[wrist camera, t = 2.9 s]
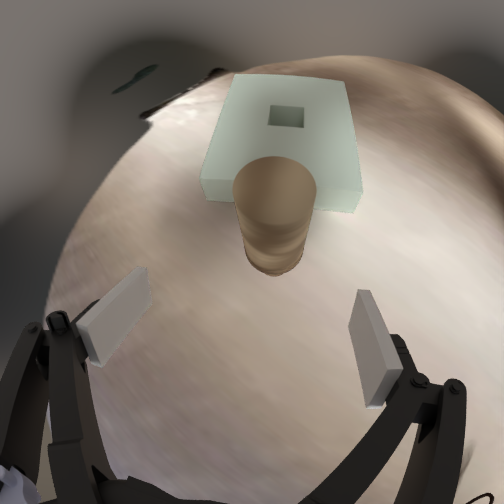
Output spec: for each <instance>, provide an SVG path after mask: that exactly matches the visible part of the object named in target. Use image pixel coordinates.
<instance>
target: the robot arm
mask: <svg viewBox="0 0 504 504" xmlns="http://www.w3.org/2000/svg"><path fill="white" fill-rule="evenodd" d="M151 305H152V298H151V292H150V285H149V278H148V270H147V268H145V267H138V266H137V267H136V268H135V269H134V270H133V271H132V272H130V273H129V274H128V275H127V276H126V277H125V278H124V279H123V280H121V281H120V282H119V283H118V284H117V285H116V286H115V287H114V288H113V289H111V290H110V291H109V292H108V293H107V294H106V295H105V296H104V297H103V298H102V299H101V300H100V299H98V300H96V301H94V302H92V303H91V304H90V305H89V306H88V307H87V308H86V309H84V310H83V311H82V313H80V314H79V315H78V316H77V317H76V318H75V319H74V320H73V321H72V322H71V323H70V321H69V319H68V316H67V313H66V312H65V311H55V312H52V313H51V314H49V315H48V316H47V317H46V322H47V325H48V327H49V330H43V327H42V325H41V323H39V322H32V323H29V324H28V325H27V326H25V328H24V329H23V331H22V333H21V335H20V338H19V339H18V341H17V344H16V346H15V348H14V350H13V352H12V354H11V357H10V359H9V361H8V364H7V366H6V369H5V371H4V374H3V376H2V378H1V381H0V504H37V503H39V502H40V501H41V496H40V494H39V493H38V492H37V489H36V483H37V478H38V472H39V464H40V453H41V444H42V436H43V429H44V423H45V417H46V412H47V407H48V402H49V406H50V420H51V430H52V438H53V442H52V444H48V457H49V462H50V468H51V474H52V479H53V483H54V487H55V491H56V495H57V498H56V499H53V500H50V501H46V502H43V503H39V504H227V503H221V502H216V501H211V500H183V499H178V498H175V497H174V496H172V495H170V494H168V493H166V492H165V491H163V490H161V489H159V488H158V487H156V486H154V485H152V484H150V483H147V482H144V481H141V480H139V479H136V478H134V477H131V476H128V478H127V480H121V479H117V478H116V476H115V475H114V473H113V471H112V470H111V468H110V465H109V462H108V459H107V456H106V453H105V450H104V446H103V443H102V439H101V435H100V431H99V427H98V423H97V419H96V415H95V410H94V405H93V400H92V395H91V389H90V383H89V377H88V370H87V364H86V362H85V359H86V358H87V357H88V356H89V359H90V361H91V363H92V364H93V365H96V366H99V367H101V368H103V367H104V365H105V364H106V363H107V361H108V360H109V359H110V357H111V356H112V355H113V353H114V352H115V351H116V349H117V348H118V347H119V345H120V344H121V343H122V342H123V340H124V339H125V338H126V336H127V335H128V334H129V333H130V331H131V330H132V329H133V327H134V326H135V325H136V324H137V322H138V321H139V320H140V319H141V317H142V316H143V315H144V314H145V312H146V311H147V310H148V309H149V307H150V306H151ZM348 328H349V332H350V336H351V340H352V344H353V348H354V352H355V357H356V361H357V366H358V370H359V375H360V380H361V384H362V389H363V394H364V400H365V405H366V409H375V408H381V407H382V405H383V404H384V402H385V401H386V405H387V406H386V407H385V409H384V410H383V412H382V413H381V415H380V416H379V417H378V419H377V420H376V421H375V423H374V424H373V425H372V427H371V428H370V429H369V430H368V432H367V433H366V434H365V436H364V437H363V438H362V439H361V440H360V442H359V443H358V444H357V445H356V446H355V448H354V449H353V450H352V451H351V452H350V453H349V455H348V456H347V457H346V458H345V459H344V460H343V461H342V462H341V463H340V465H339V466H338V467H337V468H336V469H335V470H334V471H333V472H332V473H331V474H330V475H329V476H328V477H327V478H326V479H325V480H324V481H323V482H322V483H321V484H320V485H319V486H318V487H317V488H316V489H315V490H313V491H312V492H311V493H310V494H309V495H308V496H306V497H305V498H304V499H303V500H302V501H300V502H299V503H298V504H354V503H355V502H356V501H357V500H358V499H359V498H360V496H361V495H362V494H363V493H364V492H365V490H366V489H367V488H368V487H369V485H370V484H371V483H372V482H373V480H374V479H375V478H376V476H377V475H378V474H379V472H380V471H381V470H382V468H383V467H384V466H385V464H386V463H387V461H388V460H389V458H390V457H391V455H392V454H393V452H394V451H395V449H396V448H397V446H398V445H399V443H400V442H401V440H402V438H403V437H404V435H405V433H406V432H407V430H408V428H409V426H410V425H411V423H418V424H419V425H418V429H417V433H416V437H415V441H414V445H413V449H412V452H411V456H410V459H409V463H408V466H407V469H406V472H405V475H404V478H403V481H402V484H401V486H400V489H399V492H398V494H397V497H396V499H395V502H394V504H453V500H454V497H455V492H456V488H457V484H458V479H459V474H460V468H461V462H462V455H463V447H464V438H465V426H466V401H467V391H466V387H465V385H464V384H463V383H462V382H461V381H460V380H457V379H448V380H447V381H446V382H445V383H444V385H437V384H432V383H430V382H429V379H428V378H427V377H426V376H425V375H424V374H422V373H419V372H418V371H417V369H416V367H415V364H414V362H413V360H412V357H411V355H410V354H409V350H408V349H407V346H406V344H405V342H404V340H403V339H402V338H401V337H400V336H399V335H398V334H389V332H388V329H387V327H386V325H385V322H384V320H383V318H382V316H381V313H380V311H379V309H378V307H377V305H376V302H375V300H374V298H373V296H372V294H371V292H370V290H360V289H358V292H357V296H356V300H355V303H354V307H353V311H352V315H351V318H350V322H349V325H348Z"/></svg>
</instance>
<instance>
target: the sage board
mask: <svg viewBox="0 0 504 504" xmlns="http://www.w3.org/2000/svg"><path fill="white" fill-rule="evenodd" d="M268 156H280V157H286V158H289V159H292V160H295V161H297V162H299V163H300V164H302V165H303V166H304V167H306V168H307V169H308V170H309V172H310V173H311V174H312V176H313V178H314V180H315V183H316V188H317V192H316V198H315V203H314V207H313V209H318V210H328V211H336V212H345V213H354V211H355V209H356V207H357V205H358V202H359V200H360V198H361V196H362V194H363V186H362V178H361V170H360V162H359V156H358V149H357V143H356V137H355V131H354V126H353V120H352V115H351V110H350V106H349V101H348V97H347V92H346V88H345V84H344V82H343V81H337V80H330V79H322V78H313V77H303V76H290V75H271V74H235V76H234V79H233V81H232V84H231V87H230V89H229V92H228V94H227V97H226V100H225V102H224V105H223V108H222V111H221V113H220V116H219V119H218V122H217V125H216V127H215V130H214V133H213V136H212V139H211V142H210V145H209V148H208V151H207V154H206V157H205V160H204V164H203V167H202V170H201V173H200V176H199V180H200V183H201V186H202V188H203V191H204V194H205V196H206V199H207V201H222V202H234V198H233V193H232V187H233V182H234V179H235V177H236V175H237V174H238V172H239V171H240V170H241V169H242V168H243V167H244V166H245V165H247V164H248V163H250V162H252V161H254V160H256V159H259V158H262V157H268Z"/></svg>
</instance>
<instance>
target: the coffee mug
mask: <svg viewBox="0 0 504 504" xmlns="http://www.w3.org/2000/svg"><path fill="white" fill-rule="evenodd" d="M485 496H489V497H490V502H489V504H493V501H494V496H493V495H492V494H491V493H485V494H482V495H480V496H478V497H476V498H474V499H472V500H471V501H469V502H468V503H466V504H471V503H473V502H474V501H476V500H478V499H480V498H483V497H485Z"/></svg>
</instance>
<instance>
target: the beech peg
mask: <svg viewBox="0 0 504 504" xmlns="http://www.w3.org/2000/svg"><path fill="white" fill-rule="evenodd" d="M316 192H317V188H316V183H315V180H314V178H313V176H312V174H311V173H310V172H309V170H308V169H307V168H306V167H304V166H303V165H302V164H300V163H299V162H297V161H295V160H292V159H289V158H286V157H280V156H268V157H262V158H259V159H256V160H254V161H252V162H250V163H248V164H247V165H245V166H244V167H243V168H242V169H241V170H240V171H239V172H238V174H237V175H236V177H235V179H234V182H233V187H232V193H233V198H234V202H235V206H236V211H237V215H238V220H239V224H240V228H241V233H242V237H243V241H244V247H245V252H246V256H247V258H248V260H249V262H250V263H251V265H252V266H253V267H255V268H256V269H257V270H259V271H261V272H263V273H265V274H266V275H269V276H279V275H282V274H283V273H286V272H288V271H290V270H291V269H293V268H294V267H295V266H296V265H297V264H298V263H299V261H300V259H301V257H302V254H303V250H304V244H305V240H306V236H307V232H308V228H309V224H310V220H311V216H312V211H313V207H314V203H315V198H316Z"/></svg>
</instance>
